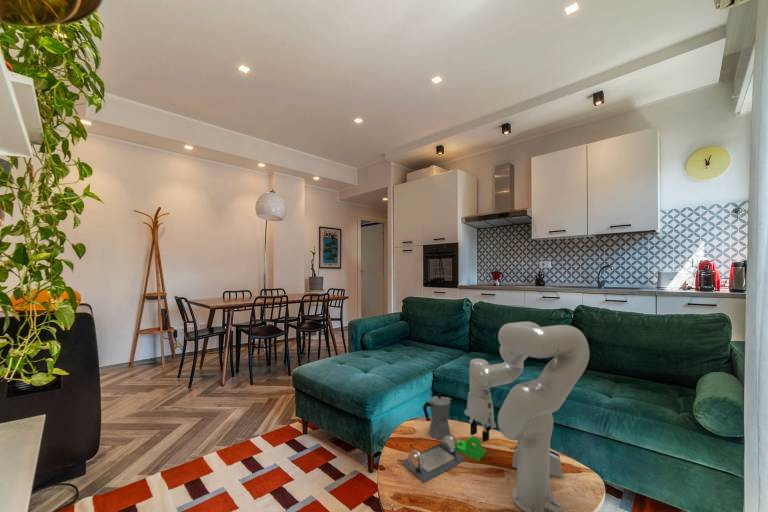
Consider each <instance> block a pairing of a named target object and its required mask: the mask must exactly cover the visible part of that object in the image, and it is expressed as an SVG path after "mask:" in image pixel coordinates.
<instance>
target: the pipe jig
mask: <svg viewBox="0 0 768 512" xmlns="http://www.w3.org/2000/svg"><path fill="white" fill-rule="evenodd" d="M457 441H458V439H456V437H455V436H454V435H452V434H450V435H446V436H444V438H443V440H442V442H440V443H438V444H436V445H433V446H431V447H429V448H427V449H425V450H421V451H419V450H418V449H413V450H412V451H411V452H410V453H409V454H408V457H406V458H405V459H404V460H402V466H404V468H406V470H407V471H409V472H410V473H412V474H413V475H414V476H415V477H416V478H417V479H418V480H420V481H421V482H422V483H426V482H428V481H430V480H431V479H434V478H435V477H437V476H439V475H441V474H443V473H445V472H446V471H448V470H451V469H452V468H454V467H456V466H458V465H460V464H461V463H463V462H465V456H464V455H463V454H461V453H458V452H456V450H455V449H456V448H457V446H458V444H457Z"/></svg>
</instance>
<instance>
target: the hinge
mask: <svg viewBox="0 0 768 512" xmlns="http://www.w3.org/2000/svg"><path fill="white" fill-rule="evenodd" d="M511 462H512V465H511V466H512V468H514V469H517V444H515V445H514V449H513V455H512V461H511ZM562 469H563V467H562V462H561V456H560V454H559V452H557V451H556V450H554V449H552V448H550V476H552V477H557V478H561V479H562V478H563V476H564V475H563V470H562Z"/></svg>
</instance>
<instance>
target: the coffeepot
mask: <svg viewBox="0 0 768 512" xmlns="http://www.w3.org/2000/svg"><path fill="white" fill-rule="evenodd" d="M452 400H453V399H452V398H451V397H446V396H442V393H437V395H434V396H432V397H431V398H429V399H428V401H426V402H424V404H423V406H422V410H423V413H424V417H425V419H426V421H427V422H429V421H430V425H429V430H428V432H429V436H430V437H431V438H433V439H436V440H440V441H443V438H444V436H446V435H451V432H450V425H449V420H448V417H449V414H450V409H451V401H452ZM428 407H429V408H430V415H431V417H429V412H428Z"/></svg>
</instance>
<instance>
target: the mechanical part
mask: <svg viewBox="0 0 768 512" xmlns="http://www.w3.org/2000/svg"><path fill="white" fill-rule="evenodd" d="M457 444H458V446H457V448H456V449H455V450H456V452H457V453H458V452H459V454H460V455H462V456H466V457H469V458H471V459H473V460H477V461H479V462H480V461H481V460H482V459H483V458H484V456H485V455H486V452H487V451H486V449H485V448H482V442H481V440H480V439H479V438H478V437H477V436H475V435H470V437H468V438H467V440H466V441H465V440H457Z"/></svg>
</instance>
